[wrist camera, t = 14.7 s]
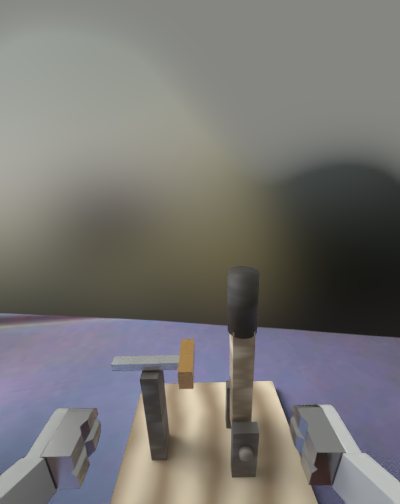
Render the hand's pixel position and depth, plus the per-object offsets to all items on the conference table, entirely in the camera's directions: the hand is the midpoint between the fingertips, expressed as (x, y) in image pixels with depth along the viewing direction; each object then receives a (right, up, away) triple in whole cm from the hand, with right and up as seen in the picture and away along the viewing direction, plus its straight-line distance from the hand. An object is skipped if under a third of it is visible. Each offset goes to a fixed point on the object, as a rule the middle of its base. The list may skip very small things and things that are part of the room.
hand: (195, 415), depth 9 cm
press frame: (+2, -22, +21) cm, 31 cm away
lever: (+6, -16, +19) cm, 26 cm away
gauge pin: (-5, -8, +17) cm, 19 cm away
